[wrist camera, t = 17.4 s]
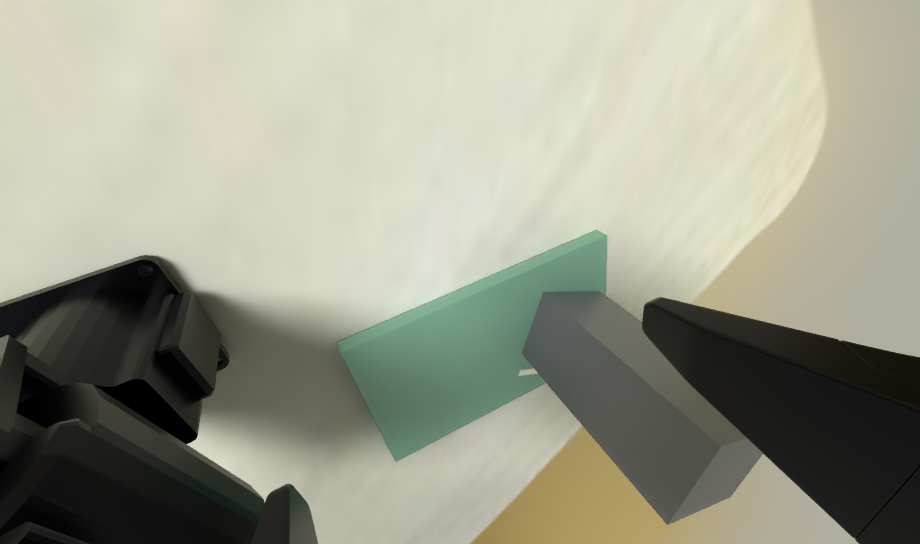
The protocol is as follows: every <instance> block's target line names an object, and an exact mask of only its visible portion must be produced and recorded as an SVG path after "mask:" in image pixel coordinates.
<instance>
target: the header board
mask: <svg viewBox="0 0 920 544" xmlns="http://www.w3.org/2000/svg"><path fill="white" fill-rule="evenodd" d="M606 259H607V235H605V234H603V233H601V232H600V231H598V230H595V231H593V232H591V233H588V234H586V235H584V236H581V237H579V238H577V239H575V240H572V241H570V242H568V243H565V244H563V245H561V246H558V247H556V248H554V249H551V250H549V251H547V252H544V253H542V254H540V255H537V256H535V257H533V258H531V259H528V260H526V261H524V262H521V263H519V264H517V265H514V266H512V267H510V268H507V269H505V270H503V271H500V272H498V273H496V274H493V275H491V276H489V277H486V278H484V279H482V280H480V281H477V282H475V283H473V284H470V285H468V286H466V287H463V288H461V289H459V290H456V291H454V292H452V293H449V294H447V295H445V296H442V297H440V298H438V299H436V300H433V301H431V302H429V303H426V304H424V305H422V306H419V307H417V308H415V309H412V310H410V311H408V312H405V313H403V314H401V315H398V316H396V317H394V318H391V319H389V320H387V321H385V322H382V323H380V324H378V325H375V326H373V327H371V328H368V329H366V330H364V331H361V332H359V333H357V334H354V335H352V336H350V337H347V338H345V339H343V340H340V341H338V342H337V345H338V348H339V352H340V355H341V357H342V358H343V360H344V362H345V364H346V366H347V368H348V370H349V372H350V374H351V376H352V378H353V380H354V382H355V384H356V386H357V388H358V390H359V392H360V393H361V395H362V397H363V399H364V401H365V403H366V405H367V407H368V409H369V411H370V413H371V415H372V417H373V419H374V421H375V423H376V425H377V427H378V428H379V430H380V432H381V434H382V436H383V438H384V440H385V442H386V444H387V446H388V448H389V450H390V452H391V454H392V456H393V458H394V460H395V462H396V461H398V460H400V459H402V458H404V457H406V456H408V455H410V454H412V453H414V452H415V451H417V450H419V449H421V448H423V447H425V446H427V445H429V444H431V443H433V442H434V441H436V440H438V439H440V438H442V437H444V436H446V435H448V434H450V433H451V432H453V431H455V430H457V429H459V428H461V427H463V426H465V425H467V424H469V423H470V422H472V421H474V420H476V419H478V418H480V417H482V416H484V415H486V414H488V413H489V412H491V411H493V410H495V409H497V408H499V407H501V406H503V405H505V404H507V403H508V402H510V401H512V400H514V399H516V398H518V397H520V396H522V395H524V394H525V393H527V392H529V391H531V390H533V389H535V388H537V387H539V386H541V385H543V384H544V383H546V382H545V381H544V380H543V378H542V377H541V376H540V375H539V374H538V373H537V371H536V370H535V369H534V368H533V367H532V366H531V364H530V363H529V362H528V361H527V360H526V358H525V357H524V356H523V355H522V354H521V353H522V351H523V348H524V345H525V342H526V339H527V336H528V334H529V331H530V328H531V325H532V322H533V319H534V317H535V314H536V311H537V308H538V305H539V302H540V299H541V297H542V294H543V292H563V291H600V292H601V293H602V294H604V295H605V292H606Z"/></svg>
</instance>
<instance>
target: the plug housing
mask: <svg viewBox="0 0 920 544" xmlns="http://www.w3.org/2000/svg"><path fill="white" fill-rule="evenodd" d="M521 354H522V355H523V356H524V357H525V358H526V360H527V361H528V362H529V363H530V364H531V366H532V367H533V368H534V369H535V370H536V371H537V373H538V374H539V375H540V376H541V377H542V378H543V380H544V381H545V382H546V383H547V384H548V385H549V387H550V388H551V389H552V390H553V391H554V392H555V394H556V395H557V396H558V397H559V398H560V400H561V401H562V402H563V403H564V404H565V405H566V407H567V408H568V409H569V410H570V411H571V412H572V414H573V415H574V416H575V417H576V418H577V419H578V421H579V422H580V423H581V424H582V425H583V427H584V428H585V429H586V430H587V431H588V432H589V434H590V435H591V436H592V437H593V438H594V439H595V441H596V442H597V443H598V444H599V445H600V446H601V448H602V449H603V450H604V451H605V452H606V454H607V455H608V456H609V457H610V458H611V459H612V461H613V462H614V463H615V464H616V465H617V466H618V467H619V469H620V470H621V471H622V472H623V473H624V474H625V476H626V477H627V478H628V479H629V480H630V482H631V483H632V484H633V485H634V486H635V488H636V489H637V490H638V491H639V492H640V493H641V494H642V496H643V497H644V498H645V499H646V500H647V502H648V503H649V504H650V505H651V506H652V507H653V509H655V511H656V512H657V513H658V515H659V516H660V517H661V518H662V519H663V520H664V521H665V523H666V524H667V525H669V524H671V523H673V522H675V521H678V520H680V519H682V518H684V517H687V516H689V515H691V514H693V513H696V512H698V511H700V510H702V509H705V508H707V507H709V506H711V505H714V504H716V503H718V502H720V501H723V500H725V499H727V498H729V497H731V495H732V494H733V493H734V492H735V490H736V489H737V488H738V486H739V485H740V484H741V482H742V481H743V479H744V478H745V477H746V476H747V474H748V473H749V472H750V470H751V469H752V467H753V466H754V465H755V464H756V462H757V461H758V460H759V458H760V457H761V456H762V454H763V453H762V452H761V451H760V450H759V449H758V448H757V447H756V446H755V445H754V444H753V443H752V442H750V441H749V440H748V439H747V438H746V437H745V436H744V435H743V434H742V433H741V432H740V431H739V430H738V429H737V428H736V427H734V426H733V425H732V424H731V423H730V422H729V421H728V420H727V419H726V418H725V417H724V416H723V415H722V414H721V413H720V412H718V411H717V410H716V409H715V408H714V407H713V406H712V405H711V404H710V403H709V402H708V401H707V400H706V399H705V398H704V397H702V396H701V395H700V394H699V393H698V392H697V391H696V390H695V389H694V388H693V387H692V386H691V385H690V384H689V383H688V382H687V381H686V380H685V379H684V378H683V377H682V376H681V375H680V374H679V373H678V371H677V370H676V369H675V368H674V367H673V366H672V365H671V364H670V362H669V361H668V360H667V359H666V358H665V357H664V356H663V354H662V353H661V352H660V351H659V350H658V349H657V348H656V347H655V345H654V344H653V343H652V342H651V341H650V340H649V339H648V337H647V336H646V335H645V333H644V332H643V329H642V322H641V321H639V320H638V319H637V318H635V317H634V316H633V315H631V314H630V313H628V312H627V311H626V310H624V309H623V308H622V307H620V306H619V305H617V304H616V303H615V302H613V301H612V300H611V299H609V298H608V297H606V296H605V295H604V294H602V293H601V292H600V291H563V292H543V294H542V297H541V299H540V302H539V305H538V308H537V311H536V314H535V317H534V319H533V322H532V325H531V328H530V331H529V334H528V336H527V339H526V342H525V345H524V348H523V351H522V353H521Z"/></svg>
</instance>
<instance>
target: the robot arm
mask: <svg viewBox="0 0 920 544" xmlns="http://www.w3.org/2000/svg"><path fill="white" fill-rule="evenodd" d="M141 265H148V266H150V267H152V268H153V271H150V272H147V271H143V270H142V269H141V268H140V266H141ZM642 329H643V332H644V333H645V335H646V336H647V337H648V339H649V340H650V341H651V342H652V343H653V344H654V345H655V347H656V348H657V349H658V350H659V351H660V352H661V353H662V354H663V356H664V357H665V358H666V359H667V360H668V361H669V362H670V364H671V365H672V366H673V367H674V368H675V369H676V370H677V371H678V373H679V374H680V375H681V376H682V377H683V378H684V379H685V380H686V381H687V382H688V383H689V384H690V385H691V386H692V387H693V388H694V389H695V390H696V391H697V392H698V393H699V394H700V395H701V396H702V397H704V398H705V399H706V400H707V401H708V402H709V403H710V404H711V405H712V406H713V407H714V408H715V409H716V410H717V411H718V412H720V413H721V414H722V415H723V416H724V417H725V418H726V419H727V420H728V421H729V422H730V423H731V424H732V425H733V426H734V427H736V428H737V429H738V430H739V431H740V432H741V433H742V434H743V435H744V436H745V437H746V438H747V439H748V440H749V441H750V442H752V443H753V444H754V445H755V446H756V447H757V448H758V449H759V450H760V451H761V452H762V453H763V454H764V455H766V457H768V458H769V459H770V460H771V461H772V462H773V463H774V464H775V465H776V466H777V467H778V468H779V469H780V470H782V471H783V472H784V473H785V474H786V475H787V476H788V477H789V478H790V479H791V480H792V481H793V482H794V483H795V484H796V485H797V486H799V487H800V488H801V489H802V490H803V491H804V492H805V493H806V494H807V495H808V496H809V497H810V498H811V499H812V500H814V501H815V502H816V503H817V504H818V505H819V506H820V507H821V508H822V509H823V510H824V511H825V512H826V513H827V514H828V515H829V516H831V517H832V518H833V519H834V520H835V521H836V522H837V523H838V524H839V525H840V526H841V527H842V528H843V529H844V530H845V531H847V532H848V533H849V534H850V535H851V536H852V537H853V538H855V540H856V541H857V542H858V543H859V544H920V357H915V356H910V355H905V354H900V353H895V352H890V351H886V350H881V349H877V348H873V347H868V346H864V345H860V344H855V343H851V342H847V341H839V340H838V339H834V338H830V337H826V336H822V335H817V334H813V333H809V332H805V331H800V330H796V329H792V328H788V327H784V326H780V325H776V324H771V323H767V322H763V321H759V320H754V319H750V318H746V317H742V316H737V315H733V314H729V313H725V312H721V311H717V310H713V309H709V308H704V307H700V306H696V305H692V304H688V303H683V302H679V301H675V300H671V299H667V298H662V297H659V298H655V299H653V300H651V301H649V302H648V303H646V304H645V306H644V312H643V321H642ZM220 338H221V333H220V331H219V330H218V329H217V327H216V326H215V324H214V323H213V322H212V320H211V319H210V318H209V316H208V315H207V313H206V312H205V311H204V309H203V308H202V307H201V305H200V304H199V303H198V301H197V300H196V298H195V297H194V296H193V294H190V293H187V292H183V291H182V290H181V288H180V287H179V286H178V284H177V283H176V282H175V280H174V279H173V278H172V276H171V275H170V274H169V272H168V271H167V270H166V268H165V267H164V266H163V264H162V263H161V262H160V261H159V260H158V259H157V258H155V257H153V256H147V255H144V256H139V257H136V258H133V259H130V260H127V261H124V262H121V263H118V264H115V265H112V266H109V267H106V268H103V269H100V270H97V271H94V272H92V273H89V274H86V275H83V276H80V277H77V278H74V279H71V280H68V281H65V282H62V283H59V284H56V285H53V286H50V287H47V288H44V289H41V290H38V291H35V292H32V293H29V294H26V295H23V296H20V297H17V298H14V299H11V300H8V301H5V302H2V303H0V544H318V541H317V537H316V533H315V528H314V524H313V519H312V515H311V511H310V508H309V506H308V504H307V502H306V501H305V500H304V498H303V497H302V496H301V495H300V494H299V492H298V491H297V490H296V489H295V488H294V486H293V485H291V484H286V485H284V486H282V487H280V488H278V489H276V490H274V491H272V492H271V493H270V494H269V495H268V497H267V499H266V501H265V503H264V499H263V498H262V497H261V496H260V495H259V494H258V493H257V492H256V491H255V490H254V489H253V488H252V487H251V485H249V484H247V483H246V482H244V481H243V480H241V479H240V478H238V477H237V476H235V475H233V474H232V473H230V472H229V471H227V470H226V469H224V468H222V467H221V466H219V465H218V464H216V463H215V462H213V461H211V460H210V459H208V458H207V457H205V456H204V455H202V454H201V453H199V452H197V451H196V450H194V449H193V448H191V447H190V446H188V445H186V444H188V443H190V442H192V441H194V440H195V439H196V438H197V436H198V429H199V422H200V415H201V408H202V401H203V399H206V398H208V397H210V396H212V393H213V391H214V389H215V382H216V373H217V371H219V370H221V369H223V368H225V367H226V366H227V365H228V363H229V353H228V352H227V350H226V349H225V348H224V346H223V345H222V344H221V342H220ZM218 358H221V359H222V360H221V361H218Z"/></svg>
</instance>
